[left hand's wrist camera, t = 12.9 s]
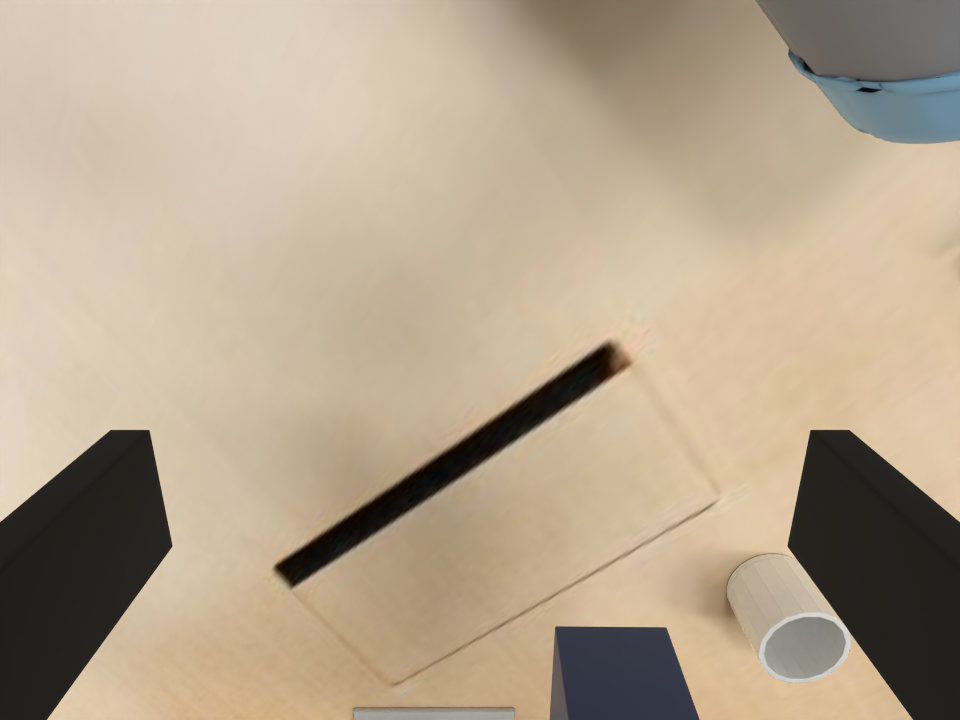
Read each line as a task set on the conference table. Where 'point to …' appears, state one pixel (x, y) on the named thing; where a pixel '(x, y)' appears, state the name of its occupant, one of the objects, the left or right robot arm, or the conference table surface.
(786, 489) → the conference table surface
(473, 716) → the grey mat
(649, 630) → the blue block
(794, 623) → the white cup
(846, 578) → the left robot arm
